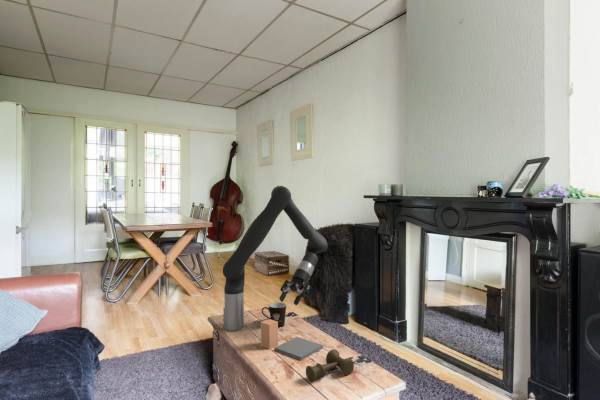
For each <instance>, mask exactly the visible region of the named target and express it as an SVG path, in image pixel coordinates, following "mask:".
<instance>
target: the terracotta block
mask: <svg viewBox="0 0 600 400" xmlns="http://www.w3.org/2000/svg"><path fill="white" fill-rule="evenodd" d="M260 346H261V347H262V348H265V349H267V350H271V349H273V348H275V347H277V346H279V328H278V322H277V321H274V320H271V319H268V318H267V319H266V320H263V321H261V322H260Z"/></svg>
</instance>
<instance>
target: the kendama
mask: <svg viewBox="0 0 600 400" xmlns="http://www.w3.org/2000/svg"><path fill="white" fill-rule="evenodd" d="M325 357H326V358H325V361H326V362H325V364H321V363H316V364H315V365H314V366H312V365H307V366H306V368H305V376H306V379H307V380H308V381H309V382H311V383H314V382H315V381H316V380H317V378H323V377H324V376H325V374H326V373H327V372H329V371H330V370H332V369H334V368H335V367H338V368H339V369H340V372H341V374H342V375H343V376H345V377H347V376H349V375H351V374H352V373H353V371H354V367H355V365H354V364H355V363H354V361H353V359H354V357H353V356H350V357H347V358H343V357H341V355H340V353H339V351H338V350H337V349H336V348H335V349H334V348H333V349H331V350H329V351H328V352H327V354H326V356H325Z"/></svg>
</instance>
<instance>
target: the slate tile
mask: <svg viewBox="0 0 600 400" xmlns="http://www.w3.org/2000/svg"><path fill="white" fill-rule="evenodd" d="M322 349H324V345H323V344H321V343H318V342H315V341H312V340H308V339H306V338H302V337H299V336H296V337H293V338H291V339H290V340H287V341H286V342H283V343H281V344H278V346H276V347H274V351H276V352H277V353H280V354H283V355H286V356H289V357H291V358H293V359H297V360H299V361H303V360H304V359H307V358H308V357H310V356H311V355H313V354H314V353H316V352H318V351H320V350H322Z"/></svg>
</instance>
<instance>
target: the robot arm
mask: <svg viewBox="0 0 600 400" xmlns="http://www.w3.org/2000/svg"><path fill="white" fill-rule="evenodd" d="M270 196H271V197H270V198H269V201H268V202H267V204H266V206H265V207H264V209H263V210H262V211H261V212H260V214H258V215H257V216H256V218H255V219H253V221H251V224H250V225H249V227H248V228H247V230H246V232H245V234H244V235H243V237H242V238H241V240H240V242H239V244H238V246H237V248H236V249H235V251H234V252H233V254H232V255H231V256H230V258H228V259H227V261H226V262H225V263H224V264H223V267H222V275H223V276H224V278H225V283H224V290H223V291H224V295H223V296H224V297H223V300H224V307H223V309H222V311H223V312H222V313H223V328H224V330H226V331H228V332H229V331H230V332H232V331H233V332H235V331H241V330H243V329H245V298H244V297H245V295H244V293H245V289H244V288H245V266H246V264H247V262H248V261H249V260H250V258H251V256H252V255H253V254H254V253H255V252H256V251H257V249H259V247H260V246H261V245H262V243H263V242H264V241H265V239H266V237H267V236H268V234H269V233H270V230H271V229H272V227H273V225H274V224H275V222H276V220H277V218H278V217H279V216H280V214H281V213H282V212H284V213H285V214H286V215H287V216H288V218H289V220H290V221H291V223H292V224H293V225H294V227H295V229H296V230H297V231H298V233H299V234H300V235H301V237H302V238H303V239H304V240H307V241H308V240H309V242H308V243H307V245H306V249H305V253H304V256H303V257H302V259H301V261H300V262H299V264H298V265H297V267H296V270H295V271H294V273H293V274H292V277H291V278H292V279H291V280H290V281H289V280H288V279H285V280H284V282H283V284H282V285H281V287H280V290H279V291H281V294H280V296H279V301H280V303H284V301H285V298H286V297H287V295H288V294H289V293H297V295H296V296H295V298H294V300H293V304H294V305H295V306H298V305H299V304H300V301H301V300H302V299H303V298H304V299H306V298H307V296H308V294H309V291H310V290H311V285H309V280H310V279H311V276H312V275H313V272H314V270H315V267H316V265H317V263H318V261H319V257H318V253H323V252H326V251H327V249H328V245H329V244H328V242H327V239H326V238H325V237H324V236H323V235H322V234H321V233H320V232H319V231H318V230H316V229H315V228H314V226H313V225H312V224H311V222H310V220H308V219H307V218H306V215H304V214H303V213H302V211H301V210H299V208H298V207H297V205H296V204H295V202H294V200H293V198H292V193H291V191H290V189H289V188H288V187H286V186H284V185H277V186H275V187H274V188H273V189H272V191H271V194H270Z"/></svg>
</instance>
